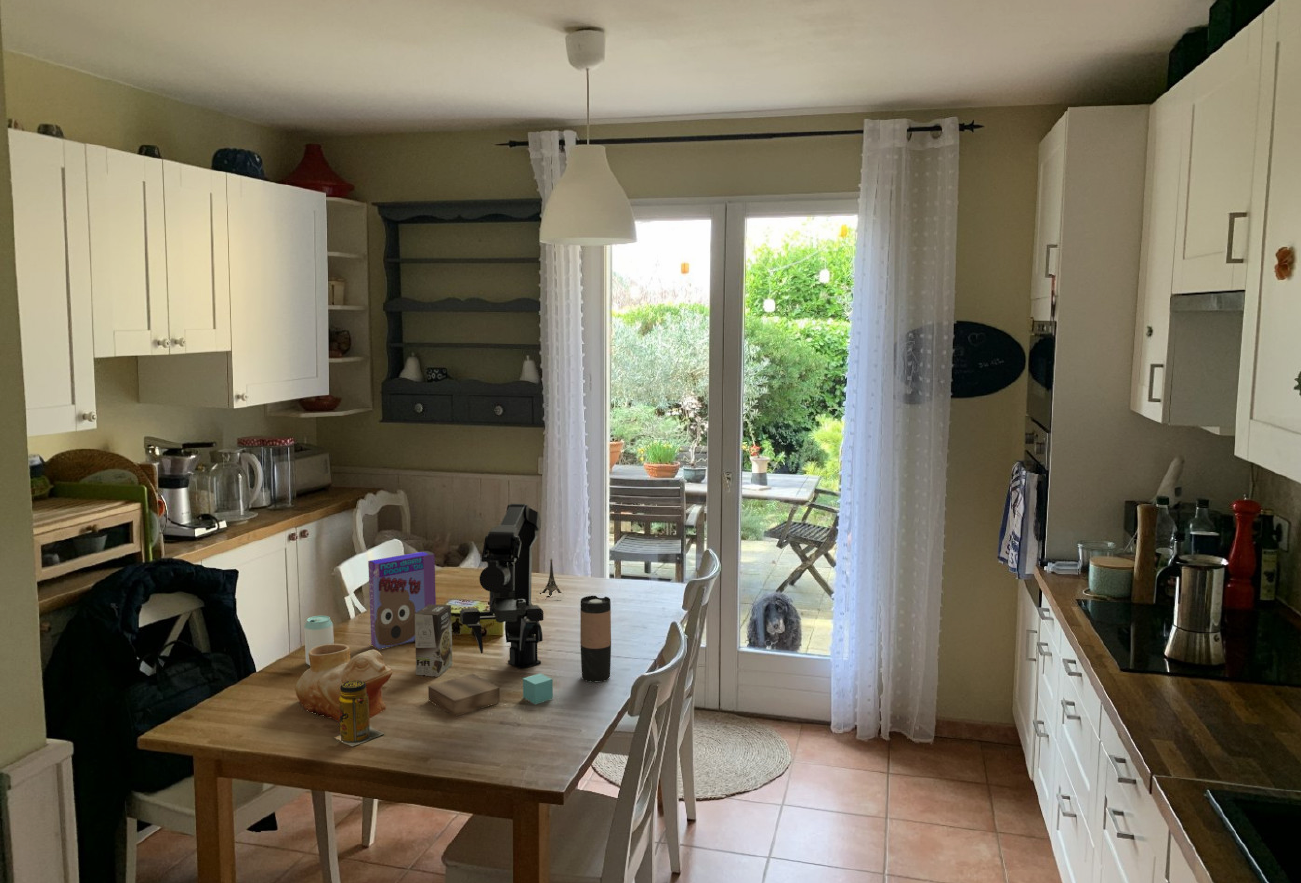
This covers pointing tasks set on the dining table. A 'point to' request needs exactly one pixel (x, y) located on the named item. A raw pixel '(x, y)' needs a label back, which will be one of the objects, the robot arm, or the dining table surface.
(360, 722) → the condiment
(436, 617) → the coffee box
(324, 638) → the can
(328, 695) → the ceramic vessel
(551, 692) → the teal block
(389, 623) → the cereal box
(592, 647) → the travel mug
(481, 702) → the walnut block
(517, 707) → the dining table surface
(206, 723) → the dining table surface
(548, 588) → the eiffel tower figurine
